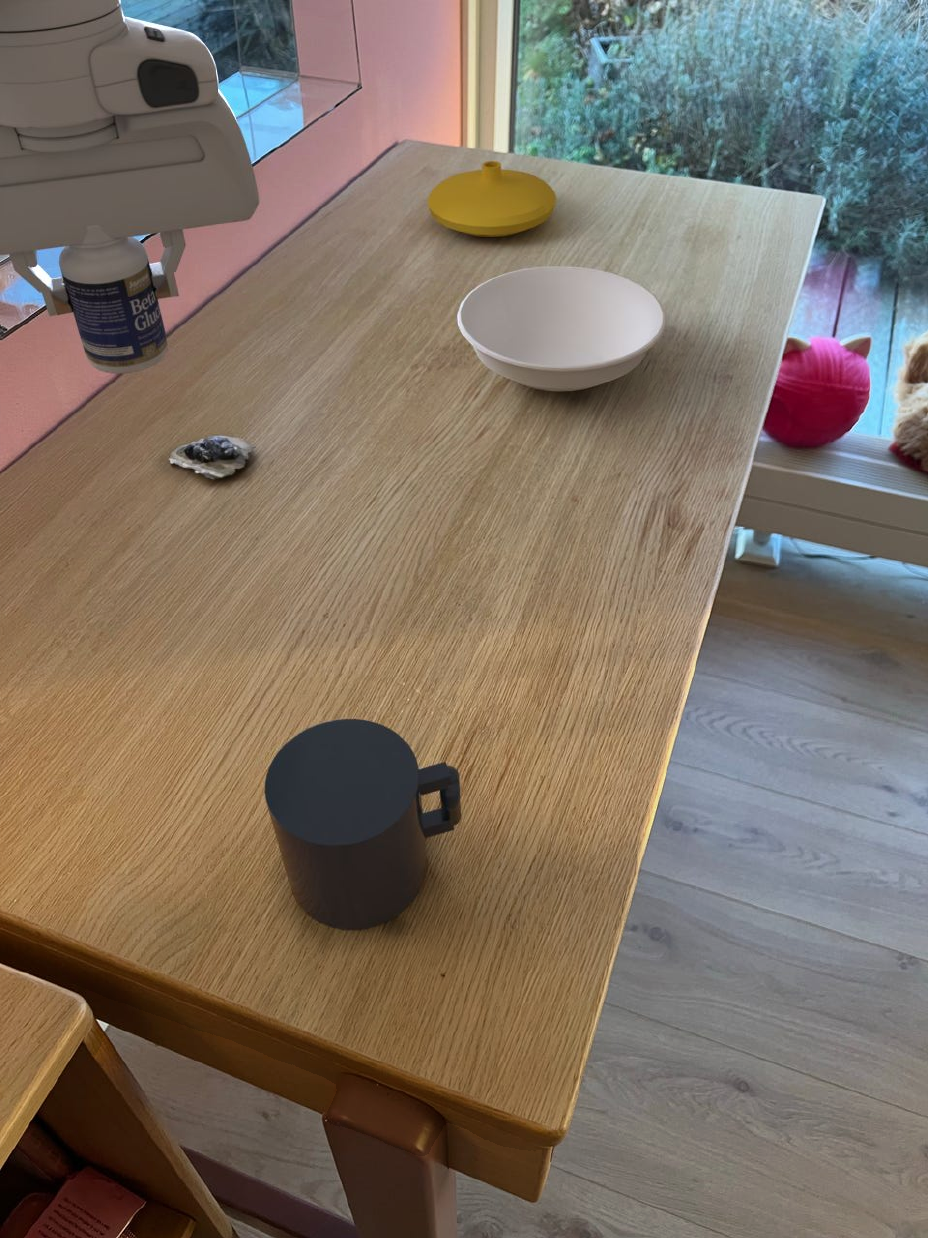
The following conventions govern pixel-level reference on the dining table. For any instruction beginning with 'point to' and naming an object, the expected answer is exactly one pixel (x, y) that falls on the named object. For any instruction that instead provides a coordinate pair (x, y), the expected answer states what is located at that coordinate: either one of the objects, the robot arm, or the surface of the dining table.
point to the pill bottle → (114, 302)
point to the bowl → (561, 326)
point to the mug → (356, 820)
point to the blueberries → (213, 455)
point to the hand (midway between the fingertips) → (115, 302)
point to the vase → (491, 201)
